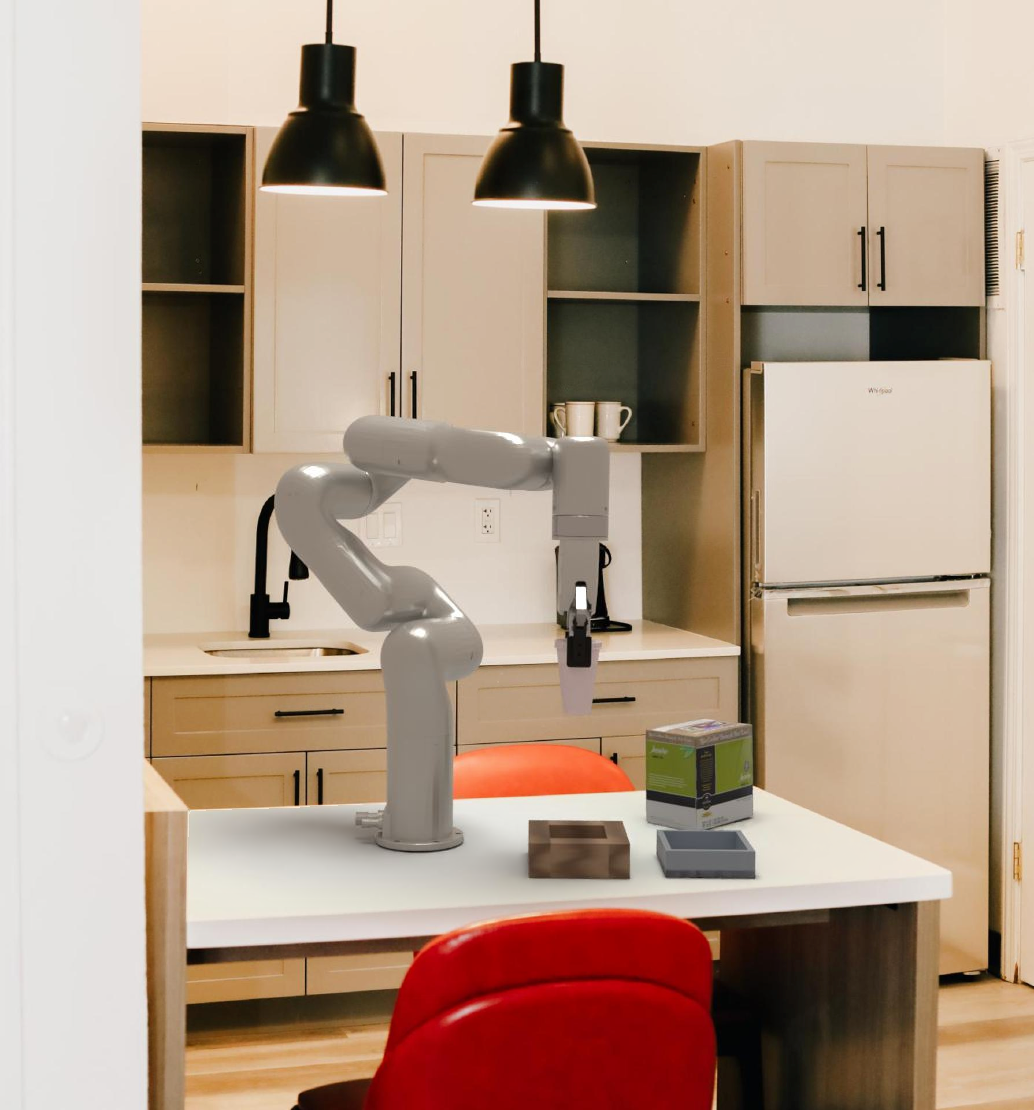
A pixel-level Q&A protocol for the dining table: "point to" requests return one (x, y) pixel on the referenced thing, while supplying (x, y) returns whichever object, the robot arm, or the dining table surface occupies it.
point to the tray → (705, 853)
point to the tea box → (699, 774)
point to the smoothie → (577, 679)
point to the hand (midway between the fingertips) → (577, 662)
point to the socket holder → (578, 849)
